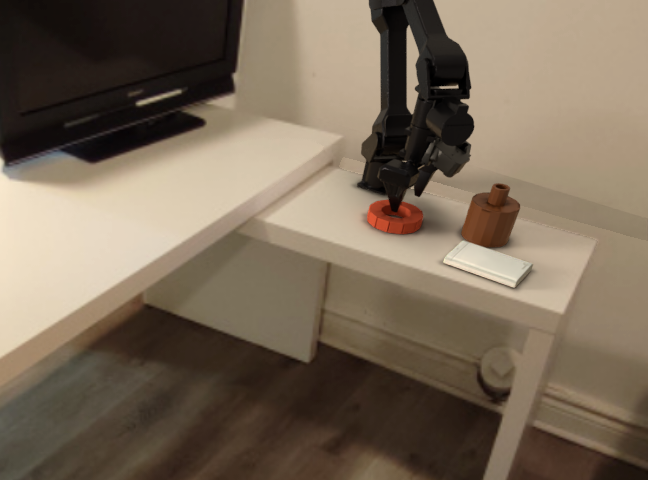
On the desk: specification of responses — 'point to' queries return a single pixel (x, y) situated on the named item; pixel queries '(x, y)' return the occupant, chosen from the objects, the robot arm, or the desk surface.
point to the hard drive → (488, 263)
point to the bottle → (491, 217)
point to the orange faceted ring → (403, 225)
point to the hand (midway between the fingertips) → (406, 203)
